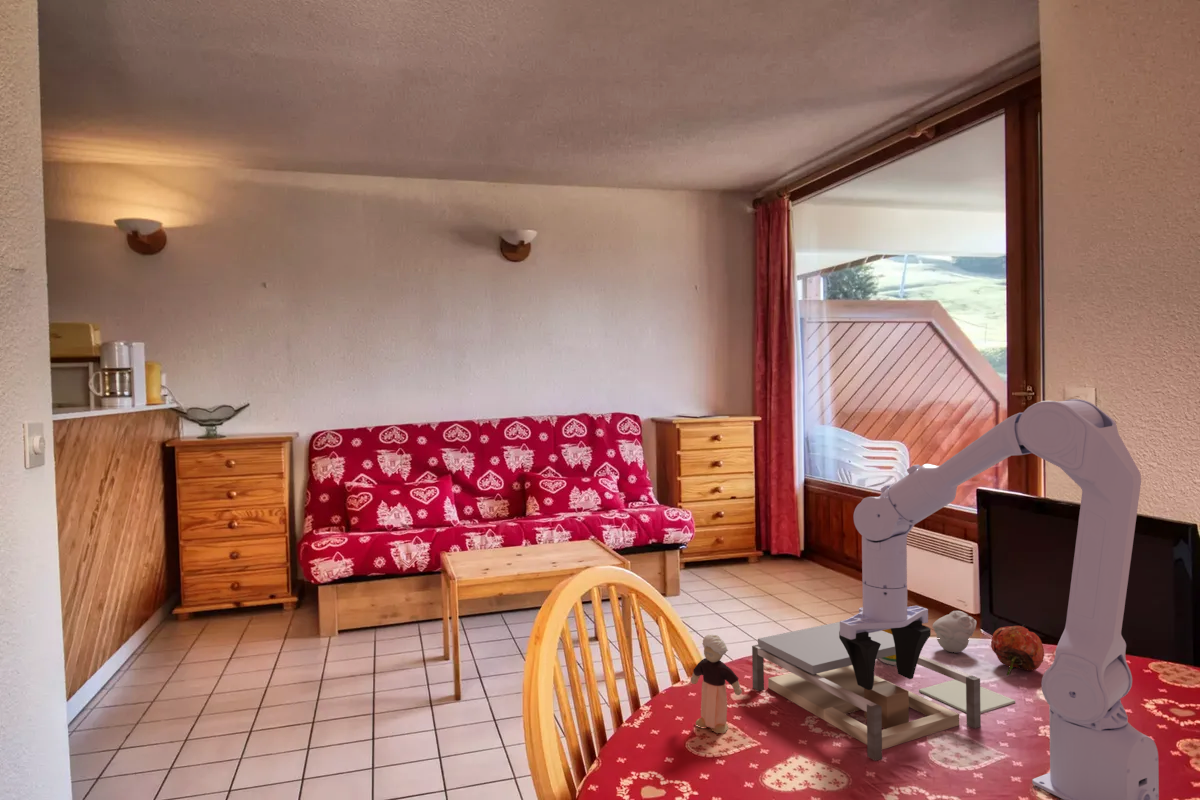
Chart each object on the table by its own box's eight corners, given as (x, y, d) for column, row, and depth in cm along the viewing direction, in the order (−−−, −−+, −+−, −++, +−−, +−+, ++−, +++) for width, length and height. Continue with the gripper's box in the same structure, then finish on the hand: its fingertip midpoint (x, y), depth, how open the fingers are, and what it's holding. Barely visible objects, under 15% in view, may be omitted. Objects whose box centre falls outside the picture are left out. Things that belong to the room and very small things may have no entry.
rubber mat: (1015, 702, 102) (1015, 700, 102) (972, 715, 98) (972, 713, 98) (960, 679, 110) (960, 678, 110) (918, 691, 107) (918, 689, 107)
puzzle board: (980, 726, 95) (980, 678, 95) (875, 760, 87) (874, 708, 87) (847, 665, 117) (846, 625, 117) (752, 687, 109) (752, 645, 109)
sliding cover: (912, 650, 105) (912, 642, 105) (813, 674, 97) (812, 665, 97) (852, 626, 116) (852, 619, 116) (758, 646, 108) (757, 638, 108)
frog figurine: (982, 659, 119) (982, 617, 118) (938, 657, 120) (937, 616, 120) (970, 646, 125) (969, 606, 124) (927, 644, 126) (927, 605, 126)
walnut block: (908, 723, 97) (908, 691, 97) (887, 730, 95) (886, 697, 95) (885, 712, 100) (885, 680, 100) (864, 718, 99) (864, 686, 99)
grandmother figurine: (683, 728, 97) (682, 635, 96) (693, 716, 100) (692, 626, 100) (739, 740, 93) (737, 644, 93) (747, 727, 96) (745, 634, 96)
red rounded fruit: (1039, 696, 109) (1062, 645, 114) (1018, 663, 108) (1042, 613, 112) (993, 684, 116) (1016, 637, 120) (972, 653, 114) (996, 606, 118)
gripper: (899, 570, 104) (900, 661, 104) (823, 583, 98) (824, 680, 98) (940, 581, 98) (941, 679, 98) (861, 596, 92) (863, 700, 92)
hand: (885, 681), depth 98 cm, fingers open, 7 cm apart
